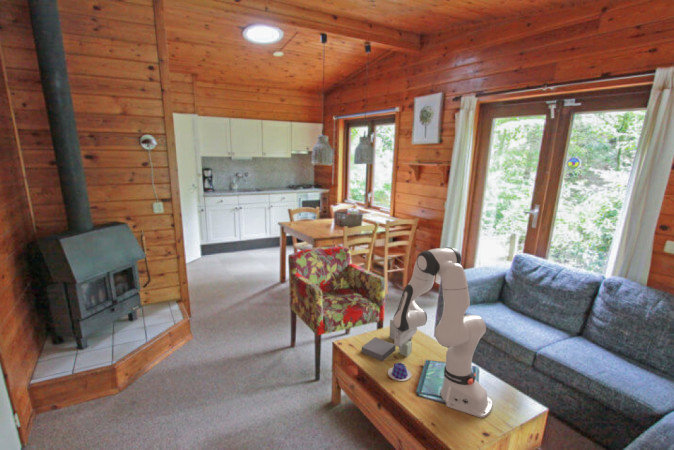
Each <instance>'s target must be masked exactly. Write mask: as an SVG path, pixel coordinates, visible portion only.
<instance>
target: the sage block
mask: <svg viewBox="0 0 674 450" xmlns="http://www.w3.org/2000/svg"><path fill="white" fill-rule="evenodd" d="M412 346H413V342H412V340H411V341H408V340H407V341H406V342H405V343H404V344H403V345H402V347H403V350H402V351H400V350H399V351H398V352H399V354H400V355H402V356H403V357H404V356H405V357H407V358H408V357H409V356H410V355H411V354H412V349H413V348H412Z"/></svg>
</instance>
